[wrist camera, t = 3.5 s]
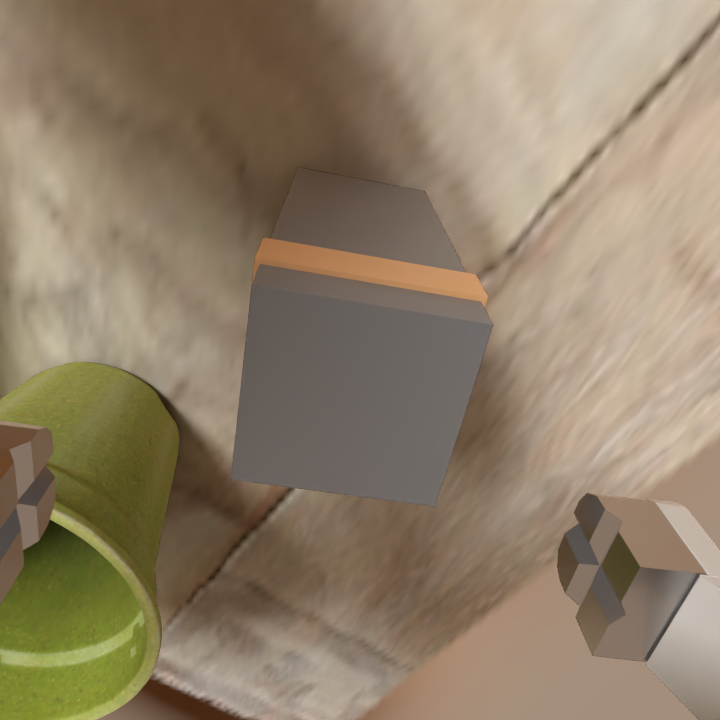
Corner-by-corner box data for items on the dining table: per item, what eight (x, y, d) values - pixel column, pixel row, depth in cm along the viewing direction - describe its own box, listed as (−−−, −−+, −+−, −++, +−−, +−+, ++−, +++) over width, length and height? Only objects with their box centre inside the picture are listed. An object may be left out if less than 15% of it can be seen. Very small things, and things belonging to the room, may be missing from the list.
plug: (428, 188, 19) (500, 320, 10) (400, 310, 21) (438, 511, 12) (295, 163, 18) (246, 277, 9) (279, 290, 20) (225, 482, 11)
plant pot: (-39, 486, 24) (-222, 696, 16) (-22, 279, 20) (-255, 428, 12) (191, 544, 26) (124, 758, 18) (250, 364, 21) (197, 542, 14)
